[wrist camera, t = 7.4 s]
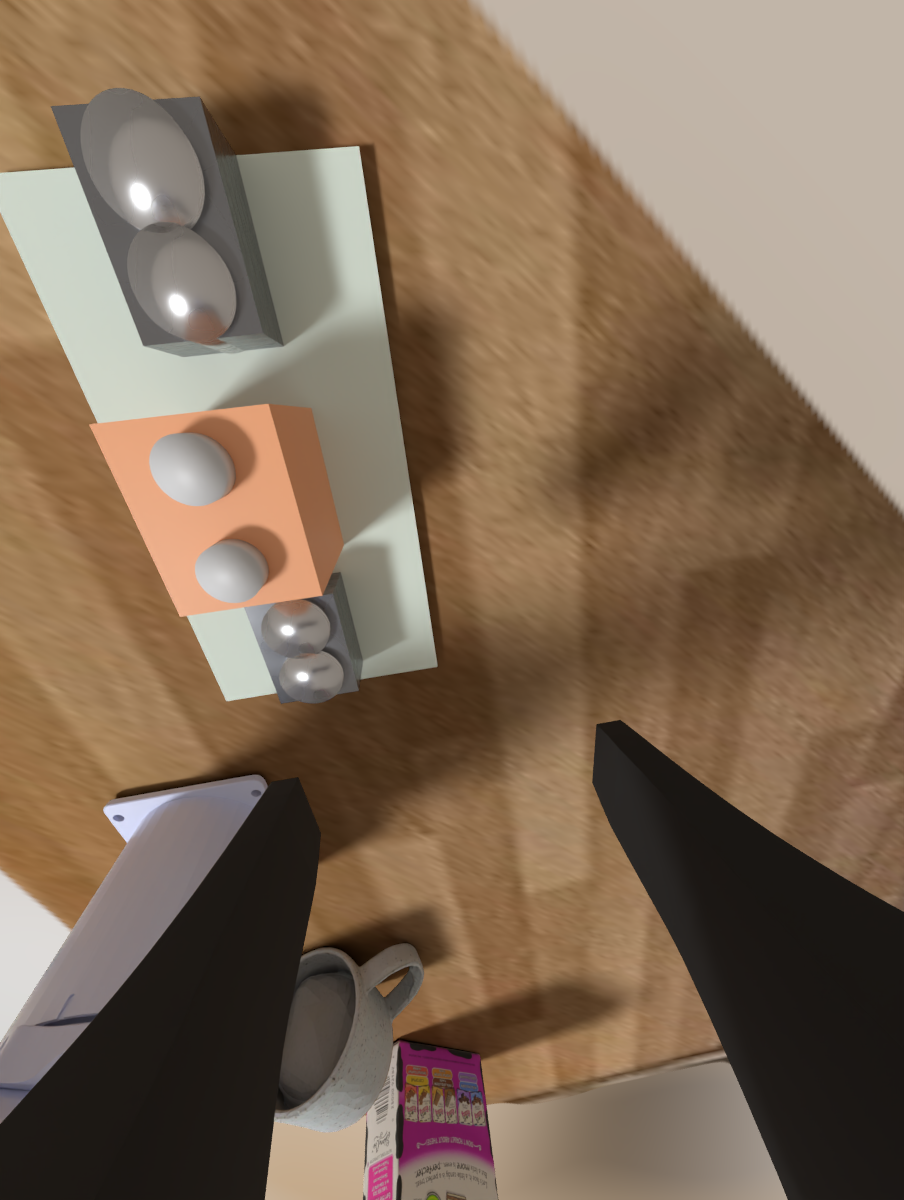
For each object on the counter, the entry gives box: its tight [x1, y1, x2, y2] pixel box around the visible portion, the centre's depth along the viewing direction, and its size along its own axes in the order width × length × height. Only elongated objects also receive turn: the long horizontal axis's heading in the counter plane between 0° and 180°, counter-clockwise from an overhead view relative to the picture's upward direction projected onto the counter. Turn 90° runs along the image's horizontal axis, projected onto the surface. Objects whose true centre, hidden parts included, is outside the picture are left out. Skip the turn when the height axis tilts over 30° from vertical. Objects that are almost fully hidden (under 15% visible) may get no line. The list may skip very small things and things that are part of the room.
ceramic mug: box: [274, 943, 424, 1132], centre depth 27 cm, size 11×8×8 cm
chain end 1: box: [51, 88, 284, 357], centre depth 11 cm, size 5×3×2 cm
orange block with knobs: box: [89, 404, 344, 617], centre depth 12 cm, size 5×4×6 cm
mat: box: [0, 146, 438, 701], centre depth 15 cm, size 18×10×1 cm, turn 6°
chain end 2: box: [244, 572, 363, 704], centre depth 16 cm, size 5×3×2 cm
